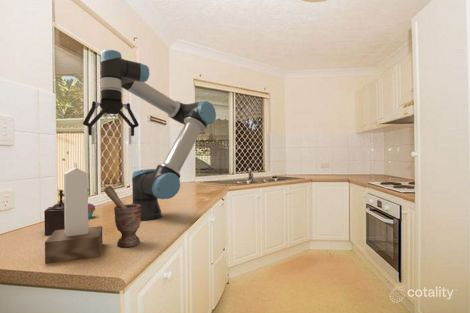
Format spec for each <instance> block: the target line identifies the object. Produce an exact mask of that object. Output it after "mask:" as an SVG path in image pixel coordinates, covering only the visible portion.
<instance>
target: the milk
mask: <svg viewBox="0 0 470 313" xmlns="http://www.w3.org/2000/svg"><path fill="white" fill-rule="evenodd" d="M73 164H74V167H72V168H70V169H69V170H67V171H65V172H63V192H64V193H63V194H64V196H63V201H64V202H63V203H64V217H65V234H66V237H70V236H76V235H83V234H88V227H89V219H88V204H89V191H88V190H89V188H88V187H89V186H88V185H89V183H88V182H89V180H88V178H89V176H88V173H87V172H86V171H83V170H82V169H80V168H78V164H77V162H74V163H73Z"/></svg>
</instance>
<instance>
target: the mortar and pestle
mask: <svg viewBox="0 0 470 313" xmlns="http://www.w3.org/2000/svg"><path fill="white" fill-rule="evenodd" d="M104 192H105V194H106V196H107V197H108V198H109V199H110V200H111V201H112V202H113V203H114V205H115V206H114V209H113V210H114V213H113V214H114V223H115V226H116V228H117V229H116V230H117V231H118V232H120V233H121V236H120V238H119V239H118V240H117V244H116V246H117V247H120V248H129V247H130V248H131V247H135V246H139V245H140V244H141V240H140V237H139V236H137V234H136V233H137V231H138V230H139V228H140V226H141V221H142V220H141V205H139V204H132V203H131V204H130V203H129V204H124V203H123V202H122V200H121V199H120V197H119V195H118V194H117V192H116V190H115V189H114V188H113V186H111V185H109V186H107V187H105V188H104Z"/></svg>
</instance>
